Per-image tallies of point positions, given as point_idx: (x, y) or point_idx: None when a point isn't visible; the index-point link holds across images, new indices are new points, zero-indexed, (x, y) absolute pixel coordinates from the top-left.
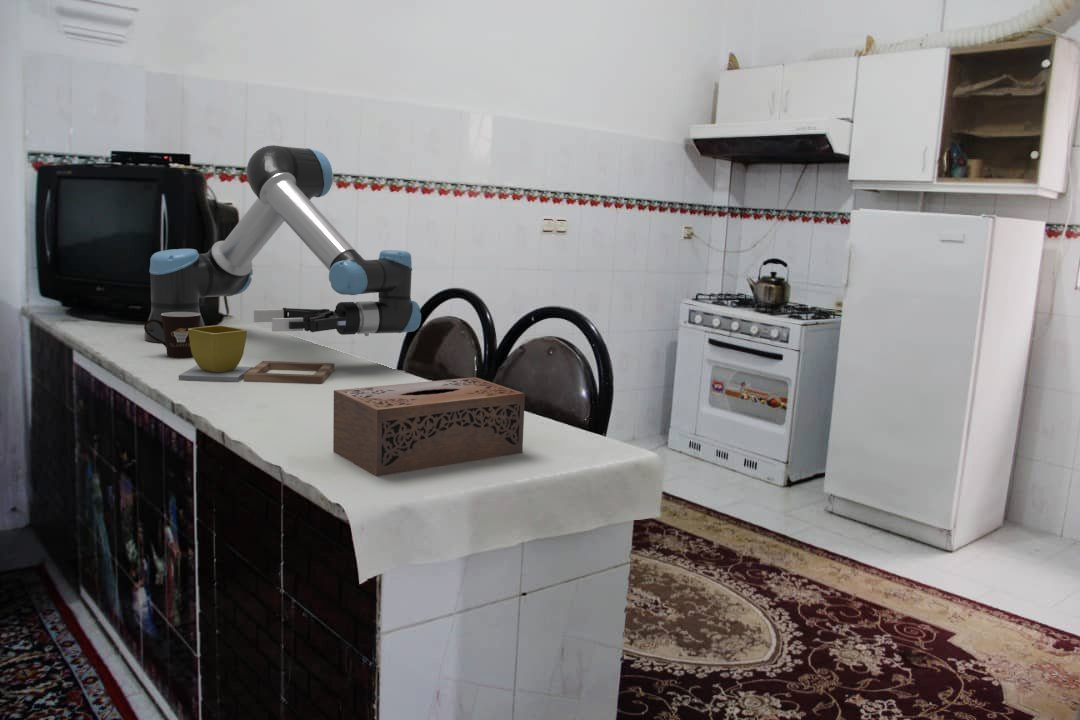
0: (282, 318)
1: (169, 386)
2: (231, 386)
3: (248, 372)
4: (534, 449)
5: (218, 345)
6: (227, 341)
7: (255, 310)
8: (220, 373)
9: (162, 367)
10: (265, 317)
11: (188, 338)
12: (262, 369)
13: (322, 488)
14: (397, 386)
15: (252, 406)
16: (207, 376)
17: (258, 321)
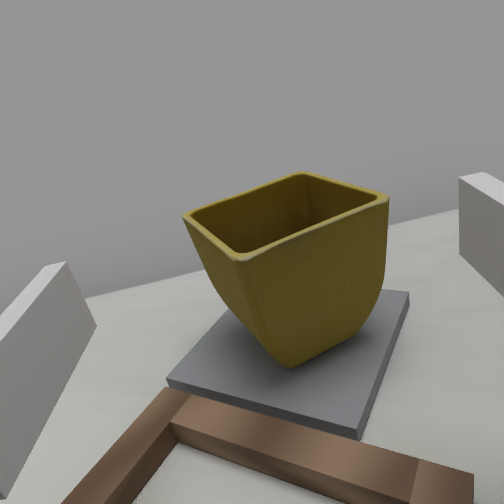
0: (28, 297)
1: (197, 283)
2: (122, 375)
3: (187, 399)
4: None
5: (201, 256)
6: (211, 260)
7: (461, 179)
8: (247, 341)
9: (443, 251)
10: (498, 259)
11: None
12: (260, 456)
13: None
14: None
15: None
16: (219, 319)
17: (471, 260)
